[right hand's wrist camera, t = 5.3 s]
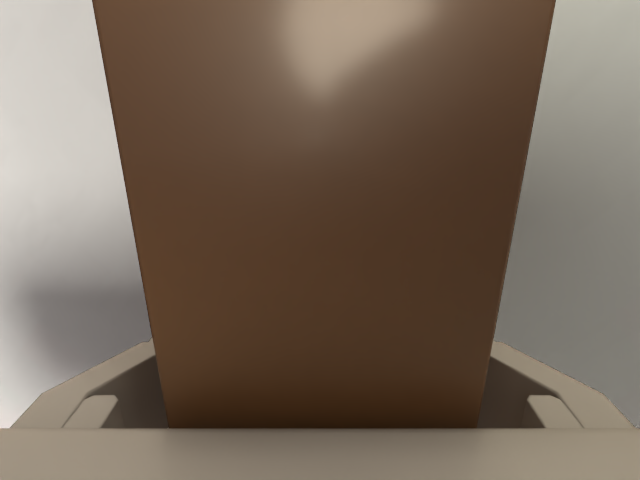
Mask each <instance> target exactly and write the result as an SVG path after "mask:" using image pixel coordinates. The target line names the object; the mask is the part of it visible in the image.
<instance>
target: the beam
mask: <svg viewBox="0 0 640 480" xmlns="http://www.w3.org/2000/svg"><path fill="white" fill-rule="evenodd" d="M92 2H93V8H94V13H95V19H96V25H97V30H98V36H99V41H100V47H101V53H102V58H103V64H104V69H105V75H106V81H107V86H108V92H109V97H110V103H111V109H112V114H113V120H114V125H115V131H116V137H117V142H118V148H119V153H120V159H121V165H122V170H123V176H124V181H125V187H126V192H127V198H128V204H129V209H130V215H131V220H132V226H133V232H134V237H135V243H136V248H137V254H138V260H139V265H140V271H141V276H142V282H143V288H144V293H145V299H146V304H147V310H148V316H149V321H150V327H151V332H152V338H153V344H154V349H155V355H156V360H157V366H158V372H159V377H160V383H161V388H162V394H163V400H164V405H165V411H166V416H167V422H168V428H477V425H478V419H479V414H480V408H481V403H482V398H483V392H484V387H485V381H486V376H487V370H488V365H489V360H490V354H491V349H492V343H493V338H494V333H495V327H496V322H497V316H498V311H499V305H500V300H501V295H502V289H503V284H504V278H505V273H506V268H507V262H508V257H509V251H510V246H511V240H512V235H513V230H514V224H515V219H516V213H517V208H518V203H519V197H520V192H521V186H522V181H523V175H524V170H525V165H526V159H527V154H528V148H529V143H530V138H531V132H532V127H533V121H534V116H535V110H536V105H537V100H538V94H539V89H540V83H541V78H542V73H543V67H544V62H545V56H546V51H547V45H548V40H549V35H550V29H551V24H552V18H553V13H554V8H555V2H556V0H92Z"/></svg>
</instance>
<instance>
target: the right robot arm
mask: <svg viewBox="0 0 640 480" xmlns="http://www.w3.org/2000/svg"><path fill="white" fill-rule="evenodd" d="M0 480H640V428H635V427H634V426H633V425H632V424H631V423H630V421H629V420H628V419H627V418H626V417H625V416H624V415H623V414H622V413H621V412H620V411H619V410H618V409H617V408H616V407H615V406H614V405H613V404H612V402H611V401H610V400H609V399H608V398H607V397H606V396H605V395H604V394H602V393H600V392H599V391H597V390H595V389H593V388H591V387H589V386H587V385H585V384H583V383H581V382H579V381H577V380H575V379H573V378H571V377H569V376H567V375H565V374H563V373H561V372H559V371H557V370H555V369H553V368H551V367H549V366H548V365H546V364H544V363H542V362H540V361H538V360H536V359H534V358H532V357H530V356H528V355H526V354H524V353H522V352H520V351H518V350H516V349H514V348H512V347H510V346H508V345H506V344H504V343H502V342H495V341H494V340H493V343H492V349H491V354H490V360H489V365H488V370H487V376H486V381H485V387H484V392H483V398H482V403H481V408H480V414H479V419H478V425H477V428H168V422H167V416H166V411H165V405H164V400H163V394H162V388H161V383H160V377H159V372H158V366H157V360H156V355H155V349H154V344H153V338H151V339H150V341H149V342H141V343H140V344H138V345H136V346H134V347H132V348H130V349H128V350H126V351H124V352H122V353H120V354H118V355H116V356H114V357H112V358H110V359H108V360H106V361H104V362H102V363H100V364H99V365H97V366H95V367H93V368H91V369H89V370H87V371H85V372H83V373H81V374H79V375H77V376H75V377H73V378H71V379H69V380H67V381H65V382H63V383H61V384H60V385H58V386H56V387H54V388H52V389H50V390H48V391H46V392H44V393H42V394H41V395H40V396H39V397H38V398H37V399H36V400H35V401H34V403H33V404H32V405H31V406H30V407H29V408H28V409H27V410H26V411H25V412H24V413H23V414H22V415H21V416H20V418H19V419H18V420H17V421H16V422H15V423H14V424H13V425H12V426H11V427H10V428H0Z"/></svg>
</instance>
